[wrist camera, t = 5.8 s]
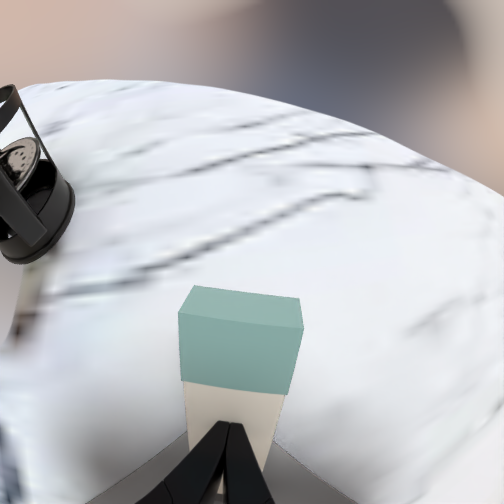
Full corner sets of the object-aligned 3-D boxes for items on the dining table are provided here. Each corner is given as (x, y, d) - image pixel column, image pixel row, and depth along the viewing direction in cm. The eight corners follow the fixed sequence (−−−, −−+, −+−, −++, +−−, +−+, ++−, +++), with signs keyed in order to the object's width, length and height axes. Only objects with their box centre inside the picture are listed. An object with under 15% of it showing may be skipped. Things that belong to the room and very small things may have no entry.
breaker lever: (254, 498, 10) (304, 328, 7) (193, 489, 11) (178, 312, 7) (256, 474, 12) (299, 298, 8) (199, 466, 12) (194, 285, 8)
